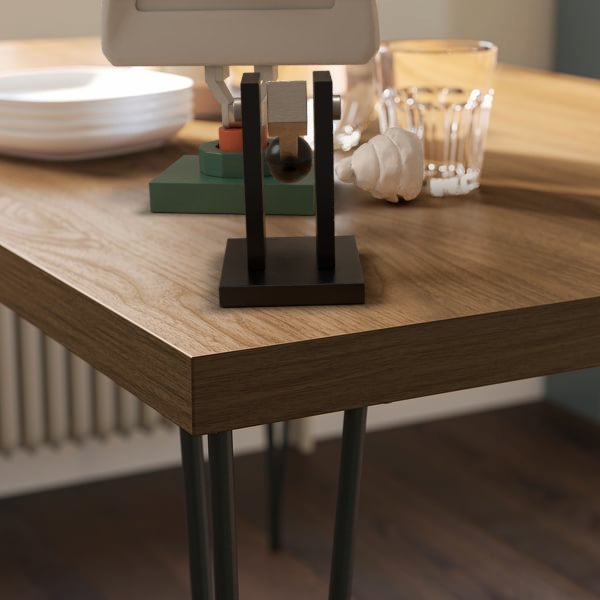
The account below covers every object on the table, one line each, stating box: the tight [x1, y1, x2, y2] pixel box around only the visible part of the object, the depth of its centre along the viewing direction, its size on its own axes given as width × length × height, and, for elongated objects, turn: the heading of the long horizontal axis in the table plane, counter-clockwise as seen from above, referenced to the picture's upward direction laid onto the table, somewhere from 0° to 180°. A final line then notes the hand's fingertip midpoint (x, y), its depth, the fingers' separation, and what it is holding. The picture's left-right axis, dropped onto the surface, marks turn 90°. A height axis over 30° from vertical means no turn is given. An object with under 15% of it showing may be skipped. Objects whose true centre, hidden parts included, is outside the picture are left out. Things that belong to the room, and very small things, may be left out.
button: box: [218, 124, 268, 151], centre depth 88 cm, size 4×4×2 cm
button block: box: [148, 137, 315, 216], centre depth 89 cm, size 12×10×4 cm
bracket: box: [218, 70, 366, 308], centre depth 67 cm, size 10×8×12 cm
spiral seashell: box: [334, 126, 425, 203], centre depth 86 cm, size 6×6×5 cm
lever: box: [265, 79, 314, 183], centre depth 72 cm, size 14×3×3 cm, turn 0°
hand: (244, 126), depth 87 cm, fingers closed, pressing on button
